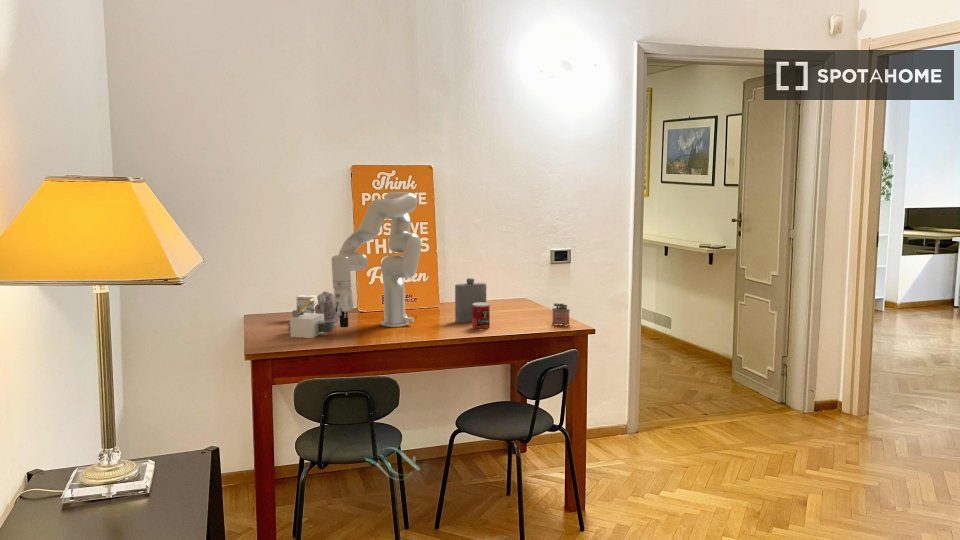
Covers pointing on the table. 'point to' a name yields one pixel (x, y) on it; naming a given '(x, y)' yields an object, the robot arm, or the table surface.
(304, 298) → the ink box
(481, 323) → the canned food
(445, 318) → the table surface
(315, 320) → the block
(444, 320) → the table surface
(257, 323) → the table surface
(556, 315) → the lighter
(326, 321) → the figurine
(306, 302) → the lever
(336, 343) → the table surface
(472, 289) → the flask
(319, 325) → the pin
